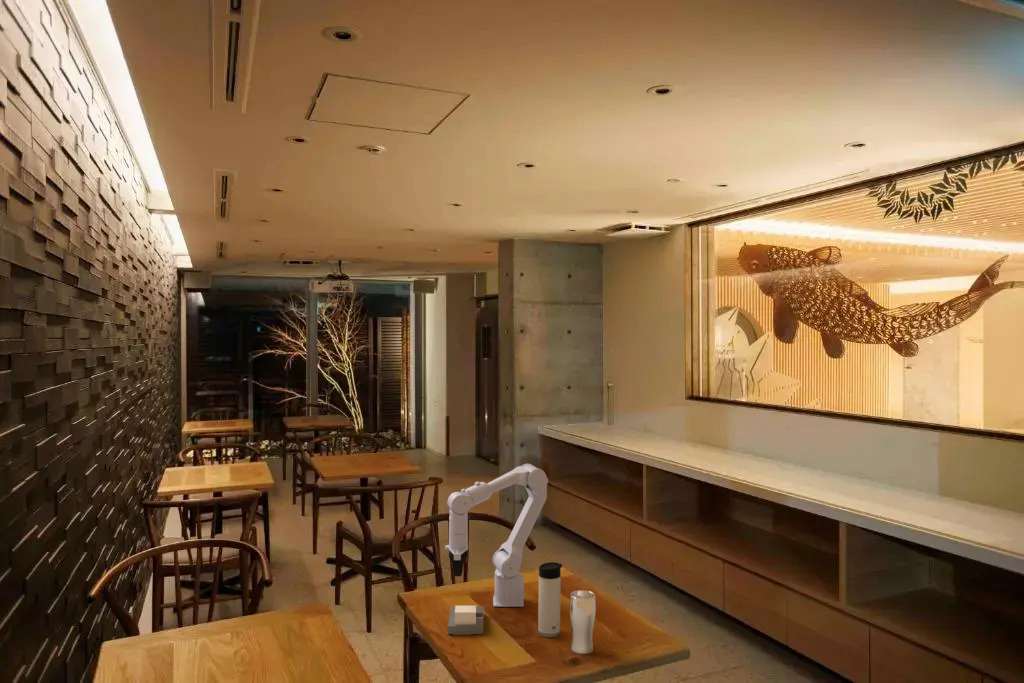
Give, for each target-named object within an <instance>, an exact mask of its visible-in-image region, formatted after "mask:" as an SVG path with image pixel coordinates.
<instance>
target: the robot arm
mask: <svg viewBox="0 0 1024 683" xmlns="http://www.w3.org/2000/svg"><path fill="white" fill-rule="evenodd" d="M548 483H549V479H548V477H547V474H546V473H545V471H544V470H542V469H541V468H538V467H536V466H534V465H533V464H531V463H524V464H522V465H519V466H516V467H515V468H514V469H512V470H510V471H508V472H506V473H504V474H502V475H501V476H499V477H496V478H495V479H493V480H492V481H489V482H488V483H486V482H484V481H475V482H474V485H471V486H469V487H467V488H461V490H460V491H455V492H452V493H451V494H450V495H449V496H448V498H447V500H446V505H447V507H448V508H449V518H448V520H449V521H448V544H446V545H445V547H444V550H449V552H448V557H449V560H450V561H451V562H450V563H451V565H452V570H453V575H454V577H462V575H463V571H464V566H465V562H466V560H467V557H468V550H469V544H468V539H469V538H468V534H469V533H468V530H469V529H468V528H469V527H468V525H469V523H468V521H469V519H468V518H469V517H468V514H469V511H470V509H471V508H472V507H475V506H477V505H478V504H481V503H483V502H485V501H488V500H489V499H490V498H491V496H492V494H493V493H496V492H498V491H499V492H500V491H501V490H504V489H507V488H508V487H512V486H513V485H520V486H523V487H525V490H526V492H527V494H528V497H527V500H526V501H525V504H524V506H523V508H522V510H521V512H520V514H519V516H518V518H517V520H516V522H515V524H514V527H513V528H512V531H511V532H510V535H509V536H508V538H507V541H505V542H503V543H502V544H501V545H500V546H499V549H498V550H497V551H495V553H494V554H493V556H492V564H493V566H494V567H495V571H494V595H493V596H492V598H493V599H492V600H493V601H492V602H493V603H492V604H493V606H492V607H494V608H500V607H501V608H502V607H503V608H504V607H505V608H511V607H515V608H517V607H519V608H520V607H524V606H525V605H524V604H525V602H524V599H525V595H526V594H525V576H524V574H522V573H519V572H520V570H521V564H522V563H521V562H522V560H523V548H524V546H525V544H526V542H527V540H528V538H529V536H530V535H531V534H530V533H531V531H532V529H533V528H534V525H535V524H536V522H537V520H538V517H539V516H540V513H541V512H542V509H543V507H544V505H545V503H546V501H547V499H548V497H547V496H548V493H547V492H548V491H547V490H548Z"/></svg>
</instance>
